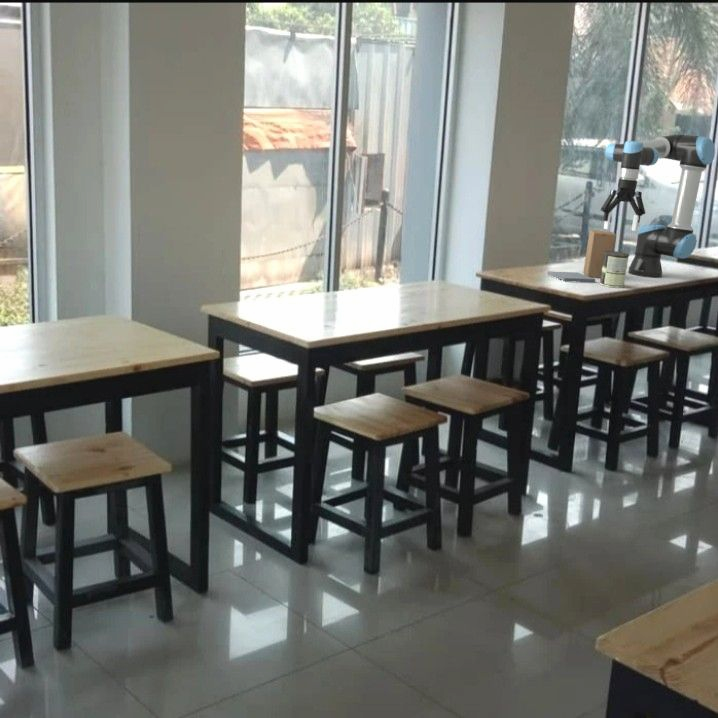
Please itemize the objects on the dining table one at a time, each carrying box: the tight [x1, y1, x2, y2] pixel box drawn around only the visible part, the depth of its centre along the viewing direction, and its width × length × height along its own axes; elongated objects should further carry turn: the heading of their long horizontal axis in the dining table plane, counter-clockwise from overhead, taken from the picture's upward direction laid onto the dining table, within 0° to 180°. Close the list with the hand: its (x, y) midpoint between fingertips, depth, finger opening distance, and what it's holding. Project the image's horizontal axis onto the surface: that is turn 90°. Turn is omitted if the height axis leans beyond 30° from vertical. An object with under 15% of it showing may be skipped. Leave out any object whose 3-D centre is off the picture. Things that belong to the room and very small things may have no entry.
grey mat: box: [546, 271, 596, 284], centre depth 452 cm, size 15×15×2 cm
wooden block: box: [582, 229, 617, 279], centre depth 462 cm, size 10×10×20 cm
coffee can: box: [599, 250, 630, 289], centre depth 442 cm, size 10×10×14 cm
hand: (620, 229), depth 438 cm, fingers open, 13 cm apart
